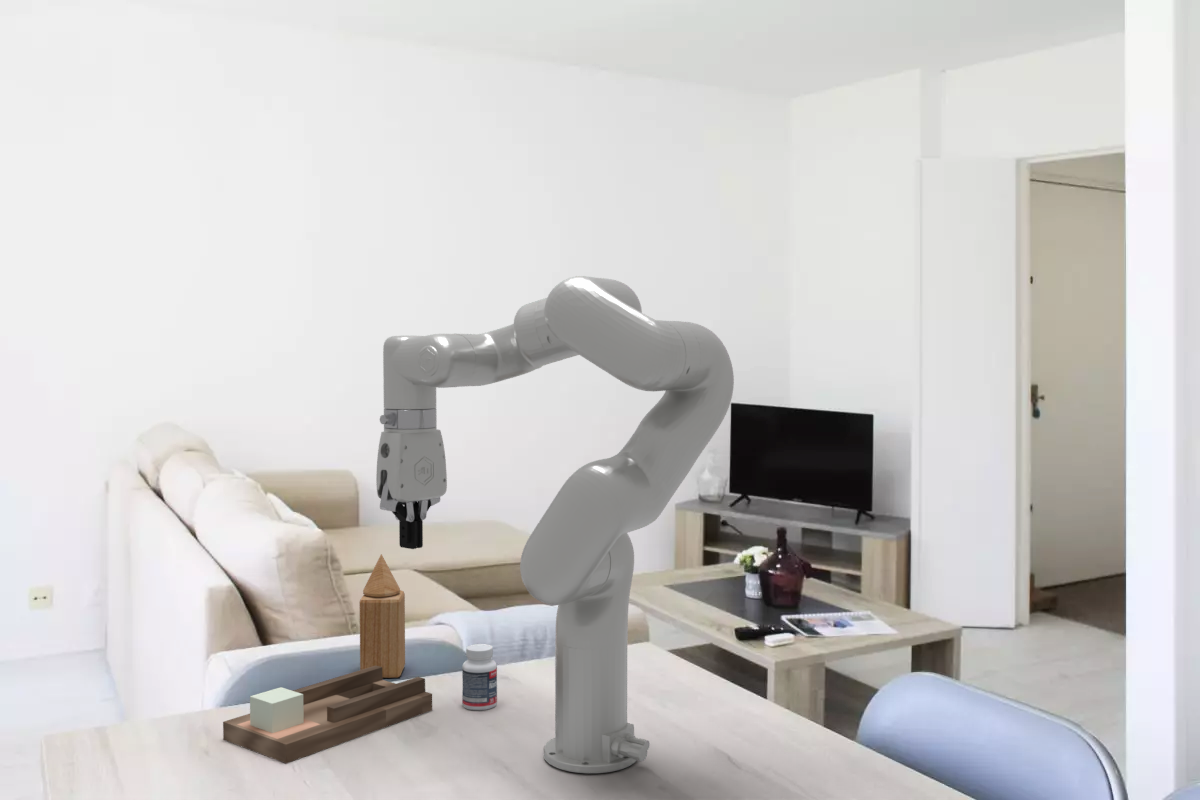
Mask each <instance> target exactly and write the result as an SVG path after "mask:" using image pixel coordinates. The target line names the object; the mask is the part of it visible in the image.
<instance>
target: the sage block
mask: <svg viewBox="0 0 1200 800" xmlns="http://www.w3.org/2000/svg"><path fill="white" fill-rule="evenodd" d="M249 710H250V711H249V714H250V725H251V726H254V727H257V728H260V729H262V730H265V731H268V732H271V733H275V732H278V731H281V730H284V729H287V728H290V727H293V726H296V725H299V724H302V723H304V715H303V694H301V693H298V692H295V691H293V690H291V689H288V688H285V687H277V688H273V689H270V690H267V691H266V690H265V691H263V692H260V693H256V694H254V695H250V696H249Z"/></svg>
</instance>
